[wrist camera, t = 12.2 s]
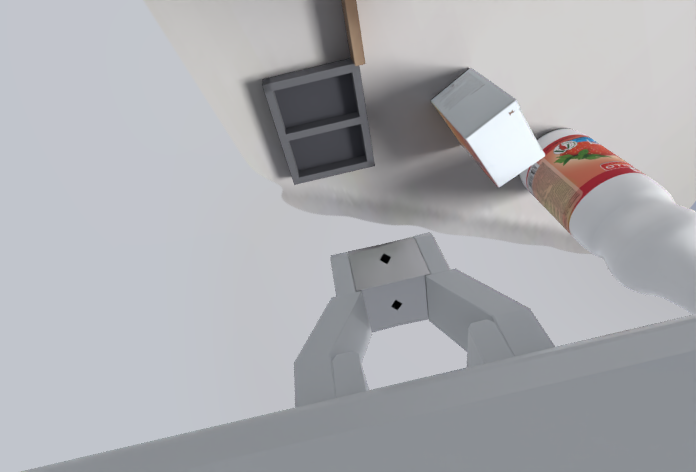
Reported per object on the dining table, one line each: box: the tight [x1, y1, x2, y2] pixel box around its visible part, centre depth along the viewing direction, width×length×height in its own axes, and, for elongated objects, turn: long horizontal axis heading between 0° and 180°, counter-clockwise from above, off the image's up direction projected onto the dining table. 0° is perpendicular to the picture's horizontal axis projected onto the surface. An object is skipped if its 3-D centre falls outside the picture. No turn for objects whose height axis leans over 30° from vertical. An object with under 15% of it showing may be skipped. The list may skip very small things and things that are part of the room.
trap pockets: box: [262, 59, 375, 185], centre depth 43 cm, size 10×12×2 cm
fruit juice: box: [520, 129, 696, 315], centre depth 41 cm, size 9×9×28 cm
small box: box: [431, 68, 545, 188], centre depth 41 cm, size 8×6×10 cm
